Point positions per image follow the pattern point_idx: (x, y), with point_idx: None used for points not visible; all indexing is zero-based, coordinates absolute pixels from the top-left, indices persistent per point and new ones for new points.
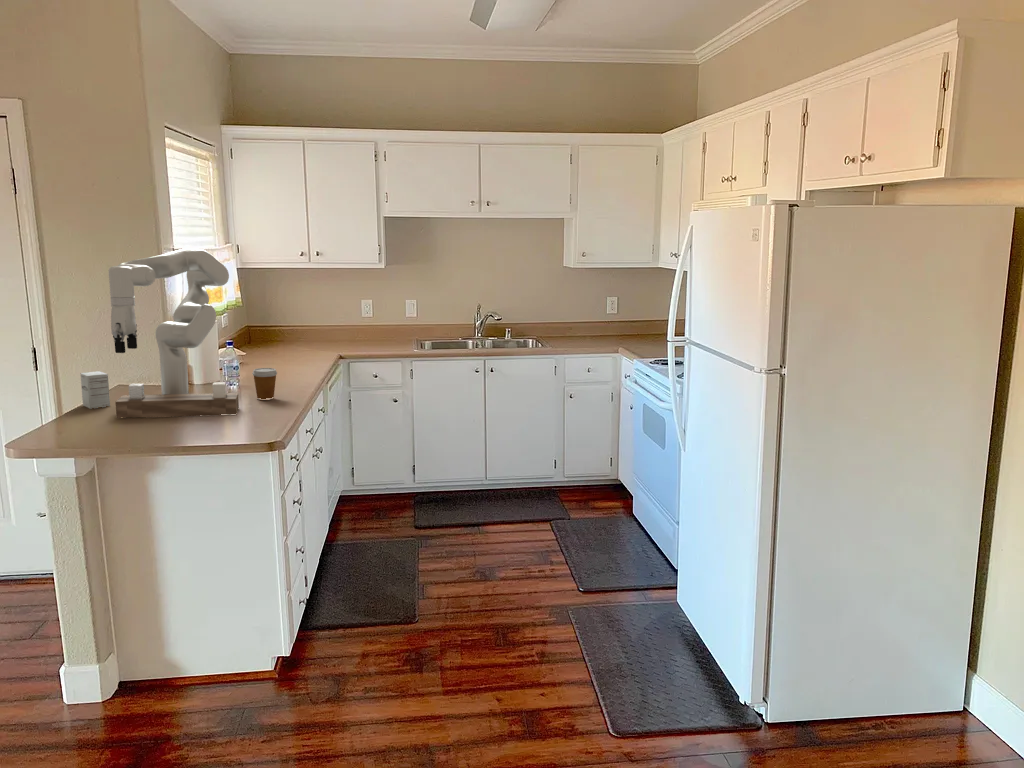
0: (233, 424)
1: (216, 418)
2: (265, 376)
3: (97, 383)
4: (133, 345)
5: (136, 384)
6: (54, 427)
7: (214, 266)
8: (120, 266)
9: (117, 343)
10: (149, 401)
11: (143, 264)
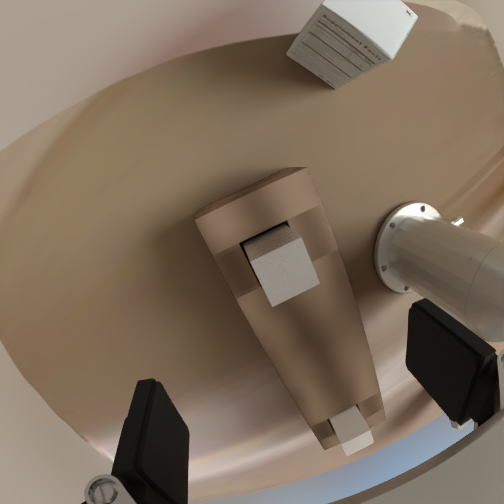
0: (241, 453)
1: (277, 417)
2: (451, 422)
3: (339, 42)
4: (420, 365)
5: (292, 270)
6: (58, 131)
7: None
8: None
9: (120, 476)
10: (247, 319)
11: None
